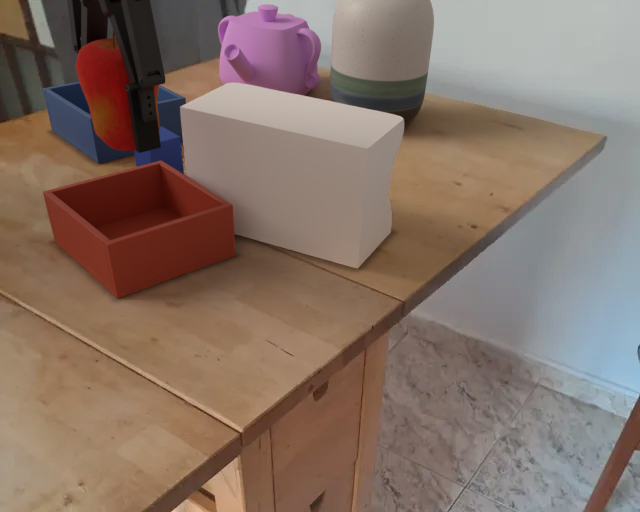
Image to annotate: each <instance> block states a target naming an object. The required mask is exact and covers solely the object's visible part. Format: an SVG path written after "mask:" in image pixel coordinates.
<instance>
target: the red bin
mask: <svg viewBox="0 0 640 512" xmlns="http://www.w3.org/2000/svg"><path fill="white" fill-rule="evenodd" d="M42 195H43V200H44V203H45V208H46V212H47V215H48V218H49V223H50V227H51V232H52V235H53V240H54V243H55V244H56V245H57V246H58V247H59V248H61V249H62V250H63V251H64V252H65V253H66V254H68V255H69V256H70V258H72V259H73V260H74V261H75V262H76V263H77V264H79V265H80V266H81V267H82V268H83V269H84V270H85V271H86V272H88V273H89V274H90V275H91V276H92V277H93V278H94V279H95V280H96V281H97V282H99V284H101V285H102V286H103V287H104V288H105V289H107V290H108V291H109V292H110V293H111V294H112V295H113V296H114V297H115V298H117V299H120V298H122V297H125V296H128V295H131V294H135V293H138V292H140V291H143V290H145V289H148V288H151V287H153V286H156V285H159V284H161V283H165V282H168V281H169V280H172V279H175V278H178V277H181V276H184V275H186V274H189V273H192V272H194V271H197V270H199V269H202V268H205V267H208V266H211V265H214V264H217V263H219V262H222V261H225V260H227V259H230V258H232V257H233V258H234V257H236V256H237V255H236V239H235V237H236V236H235V234H234V218H233V205H232V204H230V203H228V202H227V201H225V200H224V199H222V198H220V197H219V196H217V195H216V194H214V193H212V192H211V191H209V190H208V189H206V188H205V187H203V186H201V185H200V184H198V183H197V182H195V181H193V180H192V179H190V178H189V177H187V176H186V174H185V173H184V174H182V173H181V172H179V171H177V170H176V169H174V168H173V167H171V166H169V165H168V164H166V163H164V162H163V161H162V160H161V161H157V162H153V163H150V164H146V165H142V166H138V167H136V166H134V167H131V168H127V169H124V170H120V171H116V172H112V173H107V174H104V175H100V176H97V177H93V178H89V179H86V180H82V181H78V182H74V183H70V184H66V185H62V186H59V187H55V188H50V189H47V190H43V191H42Z"/></svg>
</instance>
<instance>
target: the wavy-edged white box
mask: <svg viewBox="0 0 640 512" xmlns="http://www.w3.org/2000/svg"><path fill="white" fill-rule="evenodd" d="M180 114H181V126H182V136H183V142H182V144H183V145H182V146H183V154H184V166H185V176H187V177H189V178H190V179H192V180H193V181H195V182H197V183H198V184H200V185H201V186H203V187H205V188H206V189H208V190H209V191H211V192H212V193H214V194H216V195H217V196H219V197H220V198H222V199H224V200H225V201H227V202H228V203H230V204H232V205H233V218H234V235H236V236H240V237H244V238H247V239H251V240H254V241H258V242H261V243H264V244H267V245H268V244H269V245H271V246H275V247H278V248H282V249H286V250H290V251H293V252H297V253H300V254H302V255H303V254H304V255H307V256H311V257H315V258H316V259H317V258H318V259H321V260H325V261H329V262H332V263H335V264H338V265H343V266H346V267H349V268H353V269H356V270H357V269H359V268H360V267H361V266H362V264H363V263H364V262H365V261H367V259H368V258H369V257H370V256H371V254H373V253H374V251H375V250H376V249H377V248H378V247H379V246H380V245H381V244H382V243H383V241H384V240H385V239H386V238H387V237H388V236H389V235H390V234H391V232H392V227H393V226H392V225H393V211H392V205H391V200H390V197H389V192H390V186H391V181H392V173H393V169H394V165H395V164H394V163H395V160H396V157H397V155H398V153H399V150H400V147H401V144H402V141H403V137H404V132H405V125H404V119H403V118H402V117H401V116H398V115H394V114H390V113H385V112H381V111H376V110H370V109H366V108H361V107H356V106H351V105H346V104H342V103H337V102H333V101H331V100H326V99H322V98H317V97H312V96H307V95H298V94H293V93H288V92H283V91H277V90H273V89H268V88H263V87H259V86H253V85H248V84H243V83H227V84H225V85H223V84H222V85H220V86H219V87H217V88H215V89H213V90H211V91H209V92H206V93H205V94H203V95H200V96H198V97H197V98H194V99H192V100H191V101H188V102H186V104H184V105H182V106H180Z"/></svg>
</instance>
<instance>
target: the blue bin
mask: <svg viewBox="0 0 640 512" xmlns="http://www.w3.org/2000/svg"><path fill="white" fill-rule="evenodd" d="M42 92H43V97H44V102H45V106H46V110H47V114H48V119H49V125H50V129H51V131H52V133H54V134H55V135H56V136H58V137H60V138H61V139H63V140H64V141H65V142H66V143H68V144H69V145H71V146H72V147H74V148H76V149H77V151H80V152H81V153H82V154H84V155H85V156H87V157H88V158H90V159H91V160H92V161H93V162H95V163H97V164H102V163H106V162H111V161H114V160H118V159H123V158H126V157H130V156H135V153H134V151H122V150H116V149H112V148H111V147H109V146H108V145H107V144H106V143H105V142H104V141H103V140H102V139H100V138H99V137H98V136H97V135H96V133H95V130H94V126H93V122H92V117H91V113H90V109H89V105H88V103H87V100H86V98H85V95H84V93H83V90H82V88H81V85H80V83H79V81H75V82H70V83H65V84H60V85H54V86H49V87H48V86H47V87H43V88H42ZM186 103H187V97H185V96H183V95H181V94H179V93H177V92H175V91H173V90H171V89H169V88H168V87H165V86H163V85H162V84H160V85H159V90H158V103H157V107H158V115H159V124H160V127H164V128H166V129H167V130H169V131H171V132H173V133H174V134H176V135H178V136H180V140H181V144H183V136H182V126H181V114H180V106H182V105H184V104H186Z"/></svg>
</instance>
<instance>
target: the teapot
mask: <svg viewBox="0 0 640 512" xmlns="http://www.w3.org/2000/svg"><path fill="white" fill-rule="evenodd" d="M217 34H218V39H219V42H220V46H221V48H220V53H219V64H218V65H219V67H218V73H219V79H220V81H221V83H222V86H223V85H225V84H227V83H243V84H248V85H253V86H259V87H263V88H268V89H273V90H277V91H283V92H288V93H293V94H298V95H303V96H306V95H307V94H308V93H309V92H310V91H311V90H315V89H318V88H319V87H320V85H321V81H322V80H321V76H320V74H319V73H318V71H319V69H318V62H319V59H320V56H321V51H322V42H321V39H320V37H319V35H318V34H317V33H316V32H315V31H314V30H312V29H310V27H309V24H308V22H307V20H306V19H304V18H301V17H300V16H299V17H298V16H295V15H293V14H290V13H285V14H284V13H279V7H278V5H275V4H270V3H269V4H266V3H265V4H260V5H258V6H257V11H250V12H246V13H243V14H240V15H238V16H237V15H227V16H225V17H224V18H222V19H221V20H220V21H219V23H218V26H217Z"/></svg>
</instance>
